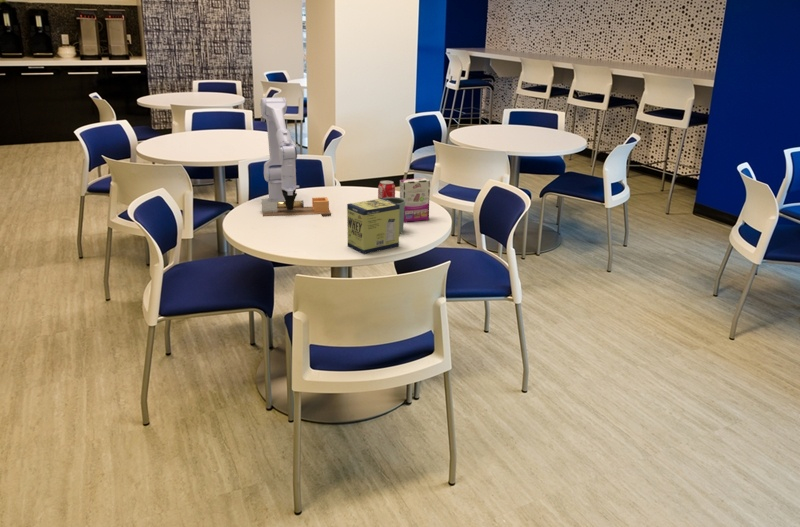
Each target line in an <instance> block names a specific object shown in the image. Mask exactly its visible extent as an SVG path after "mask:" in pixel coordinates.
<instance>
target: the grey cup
mask: <svg viewBox="0 0 800 527" xmlns="http://www.w3.org/2000/svg"><path fill="white" fill-rule="evenodd" d="M383 199H386V200H389V201H391V202H394V203H396V204H399V205H400V212H399V234H402V233H403V232H404V224H405V223H404V208H405V200H404V199H402V198H400V197H396V196H395V197H386V198H383ZM401 232H402V233H401Z"/></svg>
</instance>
